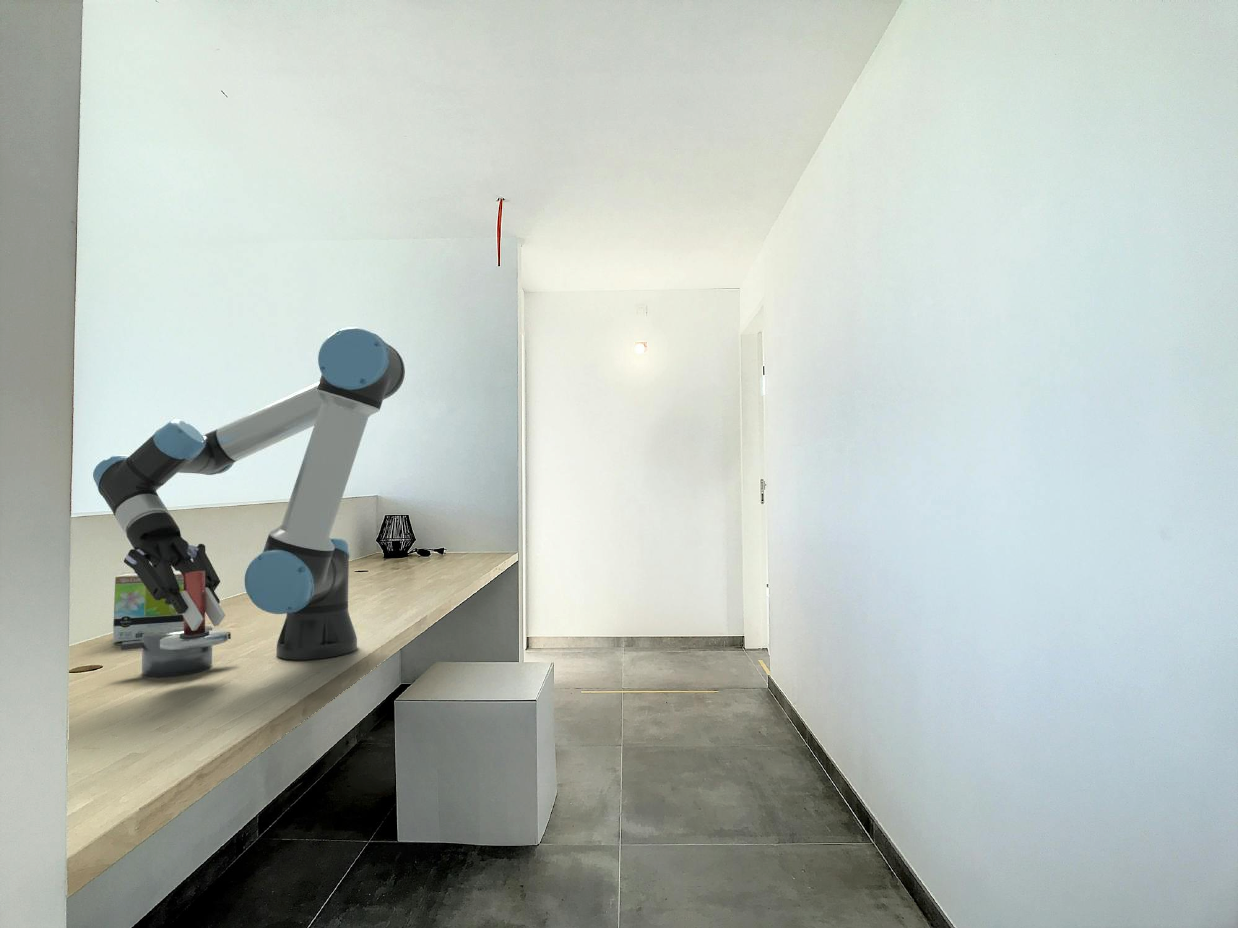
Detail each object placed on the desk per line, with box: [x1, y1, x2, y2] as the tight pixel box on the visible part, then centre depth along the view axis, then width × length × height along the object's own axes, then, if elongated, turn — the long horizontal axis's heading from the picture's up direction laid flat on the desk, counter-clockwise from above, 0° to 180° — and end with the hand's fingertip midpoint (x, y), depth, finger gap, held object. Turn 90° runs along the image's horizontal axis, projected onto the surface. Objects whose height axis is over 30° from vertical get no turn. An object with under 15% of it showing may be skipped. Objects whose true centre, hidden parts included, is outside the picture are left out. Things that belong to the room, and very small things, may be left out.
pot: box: [120, 625, 232, 678], centre depth 130 cm, size 17×11×7 cm, turn 121°
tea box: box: [112, 569, 184, 644], centre depth 161 cm, size 15×10×15 cm, turn 117°
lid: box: [160, 571, 229, 650], centre depth 120 cm, size 10×10×12 cm
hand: (209, 622), depth 119 cm, fingers closed on lid, 3 cm apart
